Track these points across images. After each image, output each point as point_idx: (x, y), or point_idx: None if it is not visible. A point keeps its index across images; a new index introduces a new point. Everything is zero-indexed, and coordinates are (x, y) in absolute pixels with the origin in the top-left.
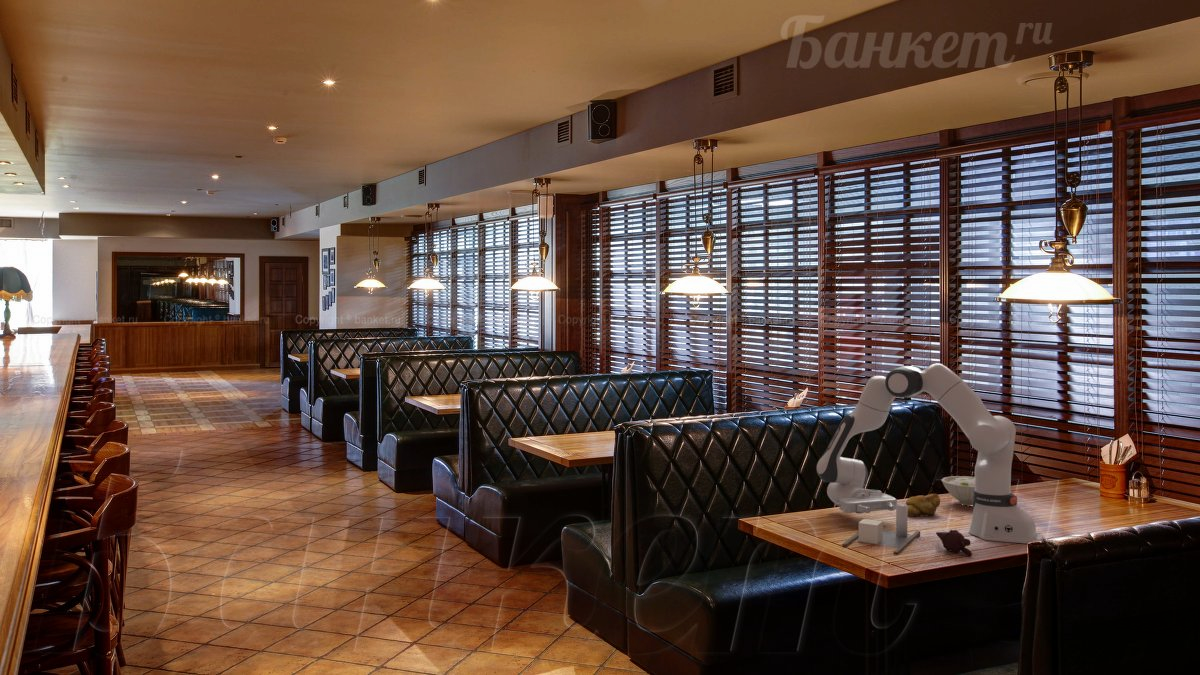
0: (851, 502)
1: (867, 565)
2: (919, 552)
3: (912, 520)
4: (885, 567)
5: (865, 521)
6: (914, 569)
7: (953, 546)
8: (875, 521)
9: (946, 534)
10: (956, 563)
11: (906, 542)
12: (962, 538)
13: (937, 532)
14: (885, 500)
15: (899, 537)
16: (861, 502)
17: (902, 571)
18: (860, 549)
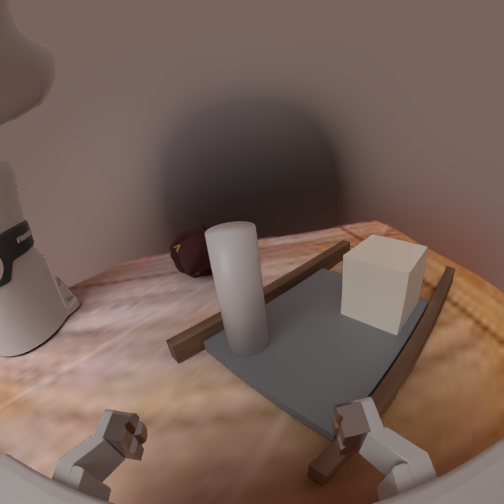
0: (490, 459)
1: (403, 237)
2: (277, 272)
3: None
4: (376, 233)
5: (405, 253)
6: (333, 229)
7: None
8: (370, 253)
9: None
10: None
11: (292, 273)
12: (204, 225)
13: (191, 266)
14: (67, 488)
15: (271, 325)
16: (383, 501)
17: (354, 226)
18: None
